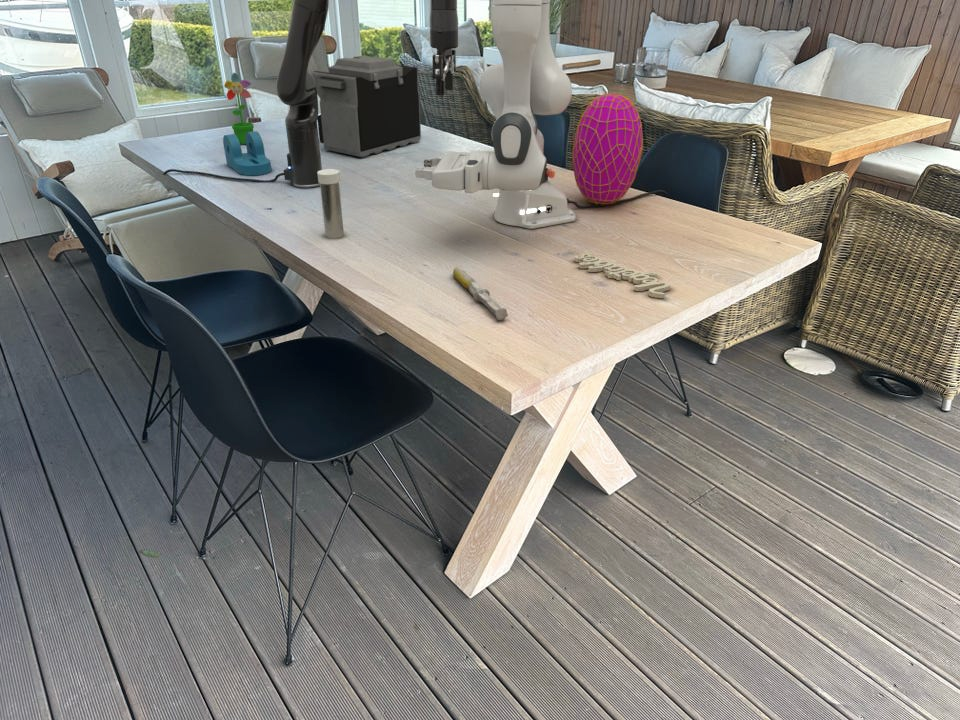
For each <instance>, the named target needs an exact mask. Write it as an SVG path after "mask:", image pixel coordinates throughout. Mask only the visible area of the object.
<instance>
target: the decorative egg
mask: <svg viewBox="0 0 960 720" xmlns="http://www.w3.org/2000/svg"><path fill="white" fill-rule="evenodd" d="M643 146H644V136H643V124H642V120H641V116H640V113H639V111H638V109H637V107H636V105H635V103H634V102H633V101H632V100H631V99H630V98H629V97H627V96H625V95H622V94H620V93H614V92H613V93H612V92H611V93H610V92H609V93H604V94H601V95H598V96H596V97H594V98H593V99H592V100H590V101H589V103H588V104H587V106H586V107H585V109H584V111H583V112H582V114H581V116H580V118H579V120H578V122H577V127H576V130H575V135H574V140H573V146H572V153H571V158H572V159H571V160H572V169H573V178H574V180H575V182H576V186H577V188H578V190H579V192H580V194H581V195H582V196H583V197H584V198H585V199H586V200H587V201H588V202H590V203H593V204H595V205H596V204H609V205H613V204H612V203H615V202H617V201H619V200H622V199H623V198H624V196H625V195H626V194H627V193H628V191H629V190H630V189H631V186H632V185H633V183H634V181H635V179H636V176H637V172H638V170H639V166H640V162H641V159H642V155H643V148H644V147H643Z"/></svg>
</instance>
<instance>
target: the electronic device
mask: <svg viewBox="0 0 960 720" xmlns="http://www.w3.org/2000/svg"><path fill="white" fill-rule="evenodd" d="M310 73H311V75H312V76H313V78H314V80H315V82H316V87H317V96H318V98H319V110H320V111H319V112H320V114H318V119H317V127H318V137H319V144H323V146H324V149H325V150H327V151H330V152H335V153H340V154H344V155H348V156H353V157H357V158H362V159H363V158H366V157H367V158H368V157H369V155H371V154H375V155H377V154H381V153H382V152H383V151H391V150H395V149H396V148H397V147H405V146H407V145H408V144H416V143H418V142H419V141H421V137H422V128H421V97H420V92H419V91H420V89H419V68H418V67H417V66H408V65H400V64H396V62H395V60H394V59H393V58H385V57H377V56H367V55H356V56H353V57H350V58H349V57H343V58H342V57H341V58H337V59H336V60H335V63H334V64H333V65H330V66H329V67H328V72H327V71H320V70H314V71H313V70H312V71H310Z"/></svg>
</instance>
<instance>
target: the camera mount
mask: <svg viewBox="0 0 960 720" xmlns="http://www.w3.org/2000/svg"><path fill="white" fill-rule="evenodd" d="M245 139H246V144H245V146H246V152H243V151H242V150H243V149H242V145H241V144H240V142H239V140H238V138H237V136H236V135H235V134H234V133H231V134H224V135H223V138H222V140H223V141H222V143H223V149H224V150H223V151H224V156H225V161H226V165H227V166H228V167H230V168H231V169H232V170H234V171H236V172H237V173H238V174H239V175H244V176H260V175H265V174H268V173H271V172H272V164H271V159H270V158H268V157H267V156H266V153H265V145H264V141H263V139H262V136H261V134H260V132H258V131H253V132H247V133H246V137H245Z"/></svg>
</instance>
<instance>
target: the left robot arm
mask: <svg viewBox="0 0 960 720" xmlns="http://www.w3.org/2000/svg"><path fill="white" fill-rule="evenodd" d="M429 5H430V6H429V7H430V8H429V9H430V10H429V42H430V43H429V46H430V47H431V48H432V49H435V50H436V54H432V56H431V57H432V58H431V59H432V75H431V76H432V80H434V81H435V95H436V96H442V97H443V96H445V93H446V91H453V90H454V76H455V73H456V72H457V58H456V57H457V56H456V55H457V54H456V53H457V51H456V49H457V48H458V47H459V16H458V0H429ZM329 7H330V0H293V2H292V8H291V12H290V20H289V26H288V30H287V36H286V37H287V38H286V43H285V49H284V54H283V58H282V61H281V64H280V68H279V71H278V74H277V78H276V84H275V89H276V94H277V96H278V98H279V99H280V101H281V103H283V104H284V105H287V106H289V109H288V112H287V115H286V116H285V119H284V123H285V131H286V138H287V146H288V153H287V154H286V161H287V168H284V169H283V172H281V173H278V174H276V175H275V176H274V178H273V179H269V180H267V179H266V180H262V179H255V178H243V177H242V178H241V177H232V176H226V175H220V174H215V173H208V172H202V171H194V170H182V169H176V168H170V169H167V170H164V172H163V173H162V175H163V176H165V175H167V174H168V173H172V172H174V173H175V172H176V173H180V174H181V173H182V174H191V175H192V174H193V175H201V176H208V177H213V178H218V179H224V180H231V181H239V182H252V183H274V182H276V181H277V180H278V179H279V178H280V177H282V176H283V177H284V181H289V184H290V186H294V187H296V188H300V189H301V188H303V189H310V188H317V187H320V183H319V182H318V174H317V172H318V171H320V170H324V169H323V167H322V157H321V147H320V139H319V130H318V120H317V119H318V116H319V99H318V98H319V96H318V94H317V87H316V82H315V80H314V78H313V76H312V75H311V71H308V69H309V63H310V61H311V58H312V55H313V53H314V51H315V49H316V48H317V45H318V43H319V42H320V40H321V38H322V35H323V33H324V30H325V28H326V22H327V18H328V12H329Z"/></svg>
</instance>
